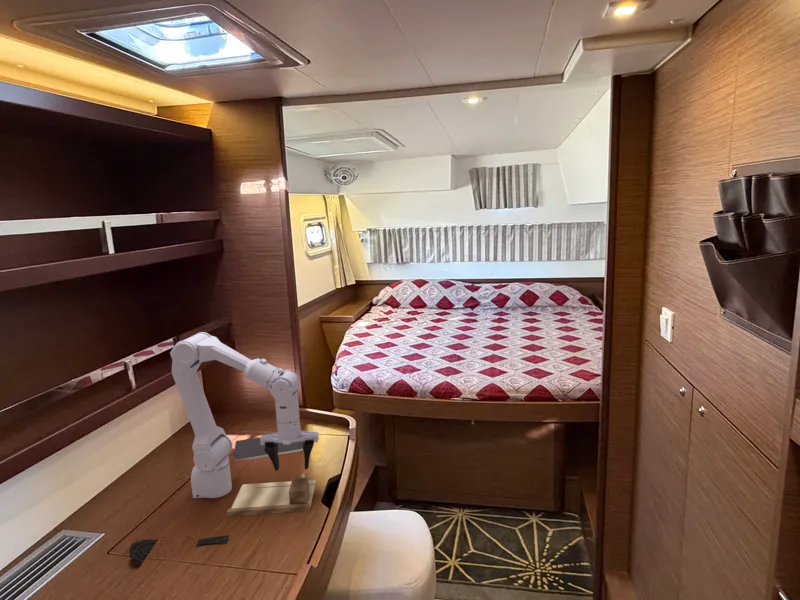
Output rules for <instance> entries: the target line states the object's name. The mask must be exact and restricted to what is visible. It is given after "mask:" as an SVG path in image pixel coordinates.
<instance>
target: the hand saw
mask: <svg viewBox="0 0 800 600" xmlns="http://www.w3.org/2000/svg"><path fill="white" fill-rule="evenodd" d="M187 471H188V470H187V469H186V470H184V469H182V471H177V472H176V473H175V474H176V475H173V476H172V477H171V482H170V484H173V483H174V482H176V481H180V480H182V479H188V475H187V473H186V472H187ZM182 474H183V475H182ZM177 476H178V477H177ZM184 477H185V478H184Z"/></svg>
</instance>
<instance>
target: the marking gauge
mask: <svg viewBox="0 0 800 600" xmlns="http://www.w3.org/2000/svg"><path fill="white" fill-rule="evenodd" d="M306 475H307V474H306V473H305V472H303V473H302V474H301V476H300V477H298V478H297V477H296V478H295V477H294V478H292V479H291V481H292V482H291V486H290V489H289V500H290V504H305V503H307V502H308V498H309V481H308V480H309V477H306Z"/></svg>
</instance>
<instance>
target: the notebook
mask: <svg viewBox="0 0 800 600" xmlns="http://www.w3.org/2000/svg"><path fill="white" fill-rule="evenodd" d="M260 438H261V436H260V437H252V438H248V439H247V438H246V439H241V440H235V444H234V445H235V446H234V452H233V459H234V461H242V460H243V461H244V460H245V461H246V460H255V459H262V458H270V457H269V456H268V455H267V453H266V452H265V450H264V448H265V445H261V442H260ZM303 445H304V442H293V443H291V444H289V445H283V443H278V456H281V455H286V454H293V453H298V452H304V451H303Z"/></svg>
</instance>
